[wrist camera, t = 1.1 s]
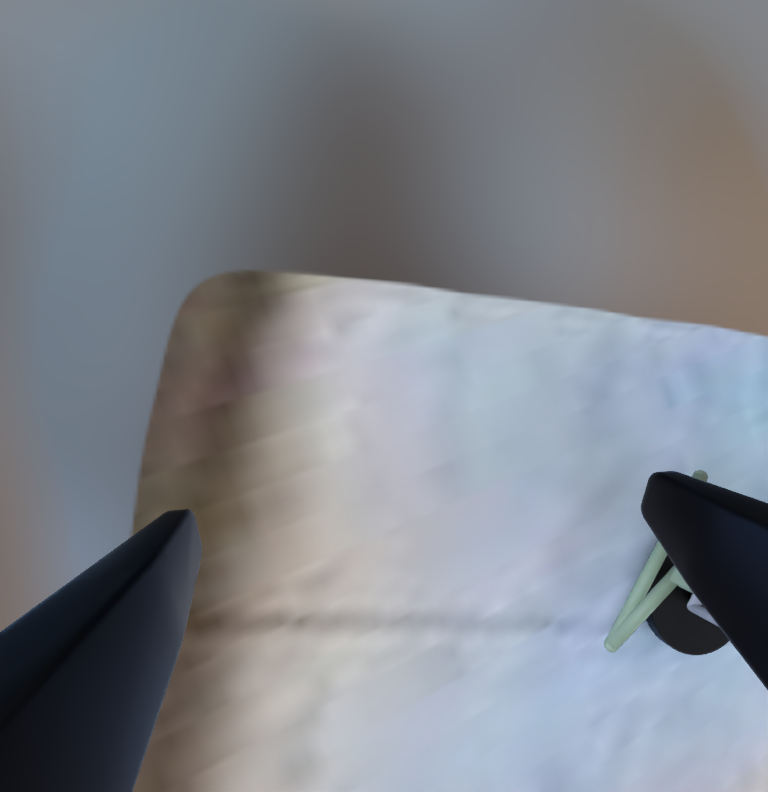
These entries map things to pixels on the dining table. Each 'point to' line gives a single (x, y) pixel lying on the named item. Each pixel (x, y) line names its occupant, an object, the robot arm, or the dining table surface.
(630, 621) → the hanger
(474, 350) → the dining table surface
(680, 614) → the black holder stand
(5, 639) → the robot arm
